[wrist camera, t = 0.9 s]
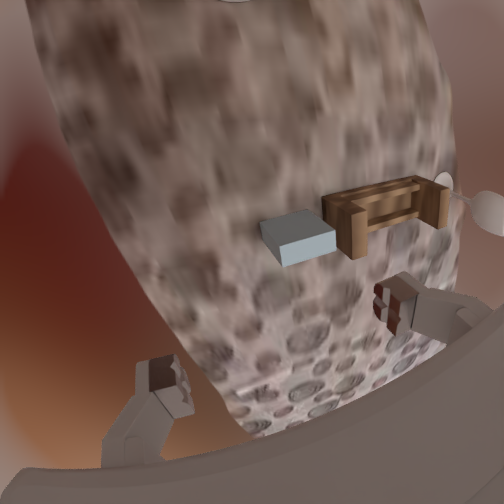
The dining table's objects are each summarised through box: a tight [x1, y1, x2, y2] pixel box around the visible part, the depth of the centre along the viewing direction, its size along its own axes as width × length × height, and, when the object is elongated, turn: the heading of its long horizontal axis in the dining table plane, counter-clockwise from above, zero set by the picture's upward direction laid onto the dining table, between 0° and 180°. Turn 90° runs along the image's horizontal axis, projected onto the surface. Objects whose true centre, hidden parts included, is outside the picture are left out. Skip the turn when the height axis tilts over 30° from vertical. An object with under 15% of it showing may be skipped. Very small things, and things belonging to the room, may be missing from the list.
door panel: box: [260, 209, 336, 267], centre depth 48 cm, size 9×4×10 cm, turn 101°
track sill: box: [321, 175, 450, 260], centre depth 51 cm, size 24×8×10 cm, turn 101°
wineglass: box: [434, 172, 504, 237], centre depth 50 cm, size 9×9×21 cm
